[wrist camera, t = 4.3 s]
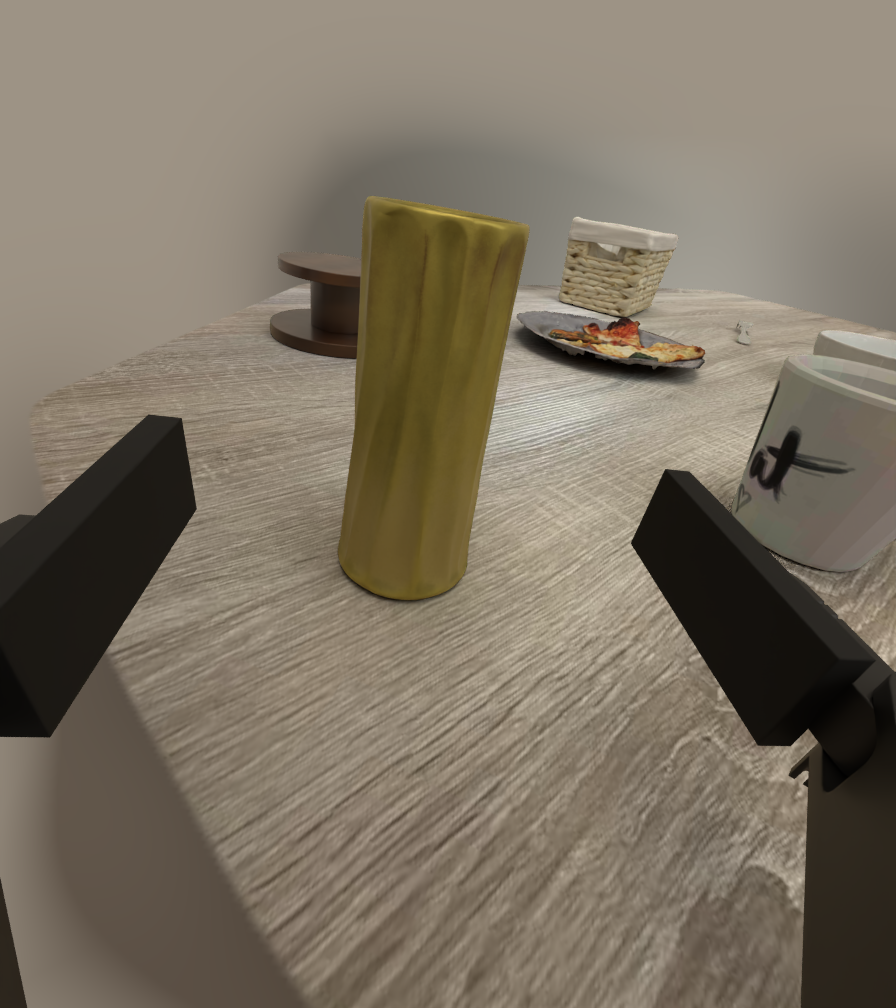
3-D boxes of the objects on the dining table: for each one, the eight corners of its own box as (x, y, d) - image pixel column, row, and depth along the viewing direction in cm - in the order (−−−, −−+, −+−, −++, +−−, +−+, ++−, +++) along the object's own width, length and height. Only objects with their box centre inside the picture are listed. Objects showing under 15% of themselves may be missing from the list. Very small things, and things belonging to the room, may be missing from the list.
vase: (363, 508, 25) (385, 195, 18) (474, 535, 25) (546, 226, 17) (316, 582, 20) (317, 189, 13) (454, 617, 20) (543, 232, 12)
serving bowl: (818, 369, 78) (843, 326, 74) (982, 420, 66) (1022, 371, 62) (773, 381, 66) (800, 330, 62) (964, 446, 53) (1013, 388, 50)
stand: (246, 341, 45) (240, 258, 41) (299, 312, 57) (297, 245, 53) (390, 368, 45) (397, 287, 41) (413, 333, 57) (420, 268, 53)
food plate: (638, 337, 77) (646, 314, 75) (736, 390, 59) (750, 362, 57) (493, 319, 71) (498, 294, 69) (551, 373, 52) (560, 340, 50)
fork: (728, 354, 89) (736, 339, 87) (733, 326, 104) (740, 313, 102) (745, 358, 88) (752, 343, 86) (747, 330, 103) (754, 317, 101)
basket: (626, 321, 88) (658, 230, 80) (547, 300, 94) (569, 214, 86) (654, 310, 106) (682, 235, 98) (586, 293, 112) (607, 221, 104)
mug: (686, 479, 35) (755, 341, 29) (887, 518, 35) (994, 387, 29) (745, 571, 26) (858, 399, 21) (1014, 624, 26) (1201, 465, 20)
